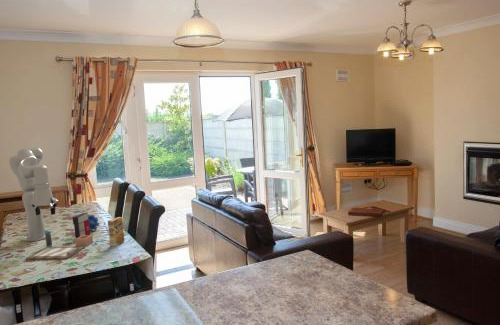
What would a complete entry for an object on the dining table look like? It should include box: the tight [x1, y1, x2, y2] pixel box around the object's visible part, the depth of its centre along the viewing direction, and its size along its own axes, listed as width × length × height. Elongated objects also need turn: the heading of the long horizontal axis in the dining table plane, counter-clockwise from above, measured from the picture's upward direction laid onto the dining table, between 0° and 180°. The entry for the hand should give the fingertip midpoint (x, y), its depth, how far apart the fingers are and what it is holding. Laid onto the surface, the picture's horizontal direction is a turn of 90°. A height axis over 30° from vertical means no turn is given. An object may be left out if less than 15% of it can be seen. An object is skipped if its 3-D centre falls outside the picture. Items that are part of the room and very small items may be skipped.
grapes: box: [88, 213, 100, 232], centre depth 261 cm, size 12×7×12 cm, turn 131°
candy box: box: [107, 216, 125, 247], centre depth 229 cm, size 9×4×15 cm, turn 162°
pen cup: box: [74, 234, 94, 247], centre depth 232 cm, size 7×7×4 cm
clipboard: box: [25, 246, 86, 261], centre depth 217 cm, size 24×18×2 cm
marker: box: [45, 229, 53, 247], centre depth 231 cm, size 3×3×10 cm
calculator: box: [72, 212, 91, 239], centre depth 246 cm, size 11×4×15 cm, turn 168°
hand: (45, 214), depth 230 cm, fingers open, 9 cm apart
